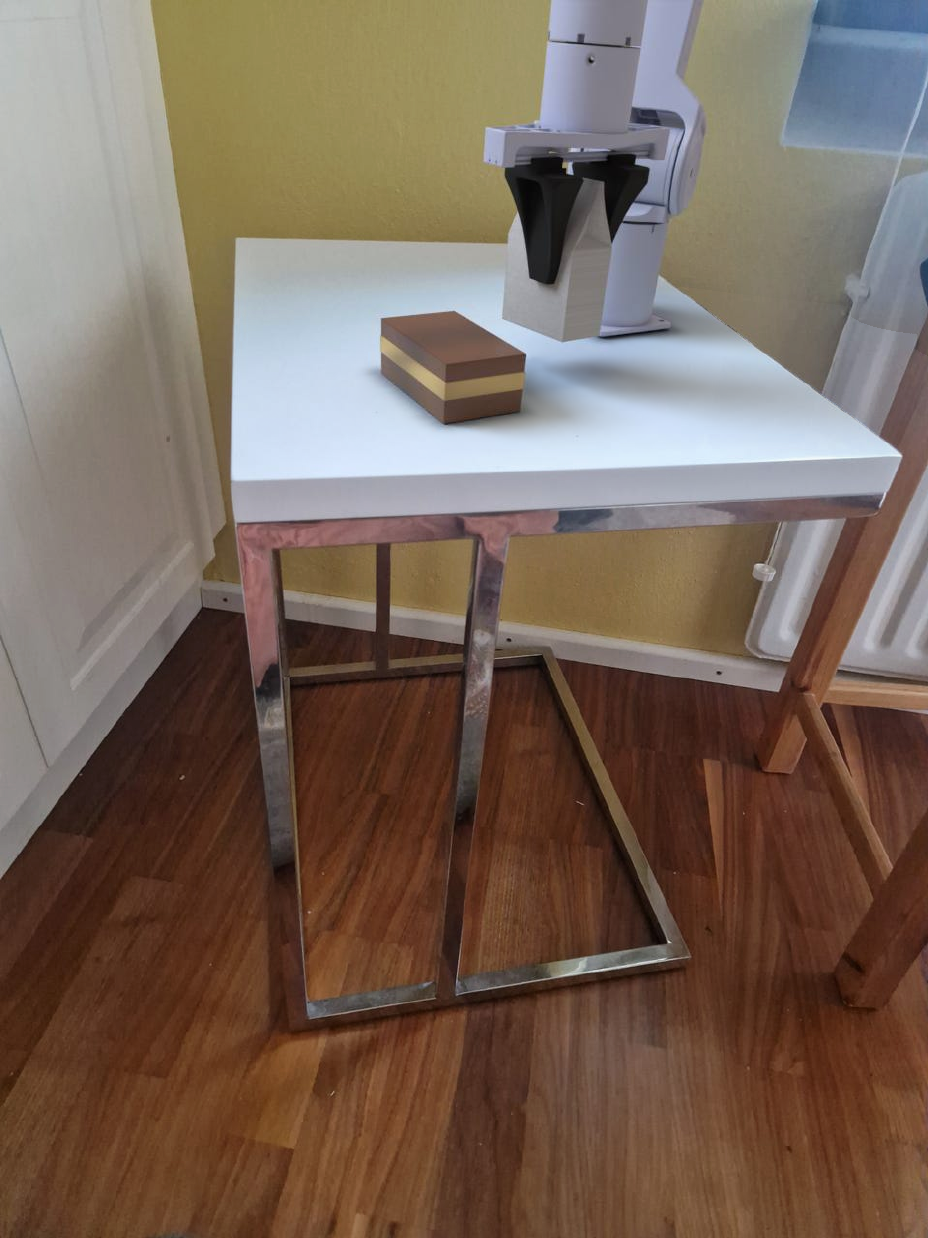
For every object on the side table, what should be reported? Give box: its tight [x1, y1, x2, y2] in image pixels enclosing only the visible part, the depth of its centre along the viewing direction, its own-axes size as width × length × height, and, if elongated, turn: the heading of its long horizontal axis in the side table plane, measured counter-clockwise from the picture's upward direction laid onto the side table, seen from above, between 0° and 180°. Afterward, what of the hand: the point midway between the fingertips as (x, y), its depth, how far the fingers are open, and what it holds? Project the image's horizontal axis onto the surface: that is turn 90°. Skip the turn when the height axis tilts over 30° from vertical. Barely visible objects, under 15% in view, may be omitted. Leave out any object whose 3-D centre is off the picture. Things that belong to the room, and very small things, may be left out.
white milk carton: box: [501, 178, 612, 343], centre depth 58 cm, size 4×7×10 cm, turn 36°
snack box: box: [379, 310, 527, 425], centre depth 58 cm, size 10×6×4 cm, turn 29°
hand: (564, 277), depth 58 cm, fingers closed on white milk carton, 4 cm apart
